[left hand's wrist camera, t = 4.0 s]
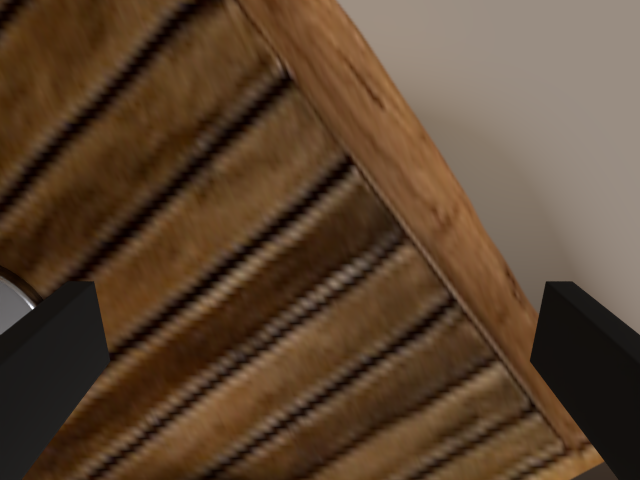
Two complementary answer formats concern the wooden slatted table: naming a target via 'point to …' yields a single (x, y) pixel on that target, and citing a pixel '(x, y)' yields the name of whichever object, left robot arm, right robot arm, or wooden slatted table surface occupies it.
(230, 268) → the wooden slatted table surface
